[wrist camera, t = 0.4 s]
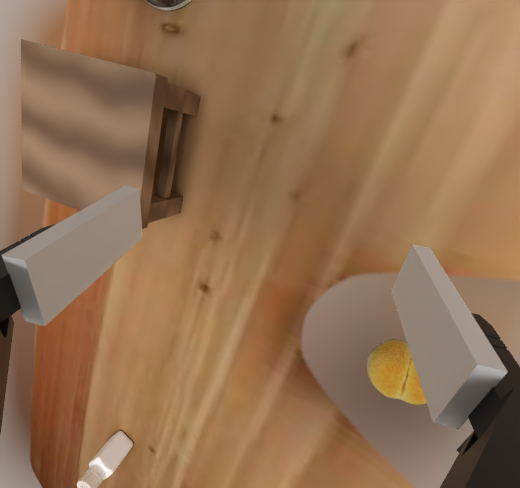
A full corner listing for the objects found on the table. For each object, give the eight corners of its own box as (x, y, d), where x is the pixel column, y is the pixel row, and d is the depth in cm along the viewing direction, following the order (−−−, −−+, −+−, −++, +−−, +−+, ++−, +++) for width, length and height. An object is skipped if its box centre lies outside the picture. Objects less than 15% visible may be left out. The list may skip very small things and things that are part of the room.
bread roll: (373, 330, 40) (376, 348, 36) (447, 349, 38) (458, 369, 34) (359, 380, 43) (360, 402, 39) (427, 400, 41) (436, 425, 37)
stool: (95, 66, 40) (21, 39, 31) (202, 94, 38) (156, 73, 28) (88, 183, 46) (22, 189, 36) (181, 215, 43) (136, 230, 34)
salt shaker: (125, 450, 60) (87, 501, 51) (111, 436, 60) (70, 484, 51) (135, 443, 59) (98, 493, 50) (121, 428, 58) (81, 475, 50)
